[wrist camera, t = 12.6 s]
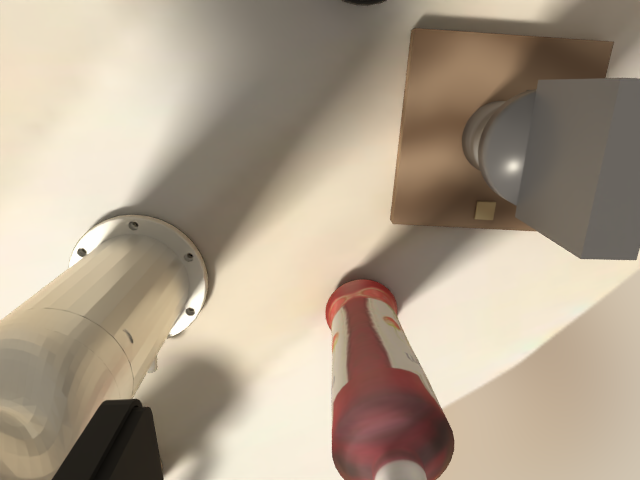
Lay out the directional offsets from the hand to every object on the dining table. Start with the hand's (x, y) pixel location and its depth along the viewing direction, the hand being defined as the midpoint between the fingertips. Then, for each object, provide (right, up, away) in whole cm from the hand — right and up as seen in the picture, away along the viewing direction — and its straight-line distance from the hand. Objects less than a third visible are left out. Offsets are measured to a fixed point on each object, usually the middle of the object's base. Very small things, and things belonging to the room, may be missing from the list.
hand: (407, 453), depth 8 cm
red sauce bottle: (+2, -3, +37) cm, 37 cm away
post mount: (+13, +13, +32) cm, 37 cm away
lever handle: (+14, +10, +24) cm, 30 cm away
